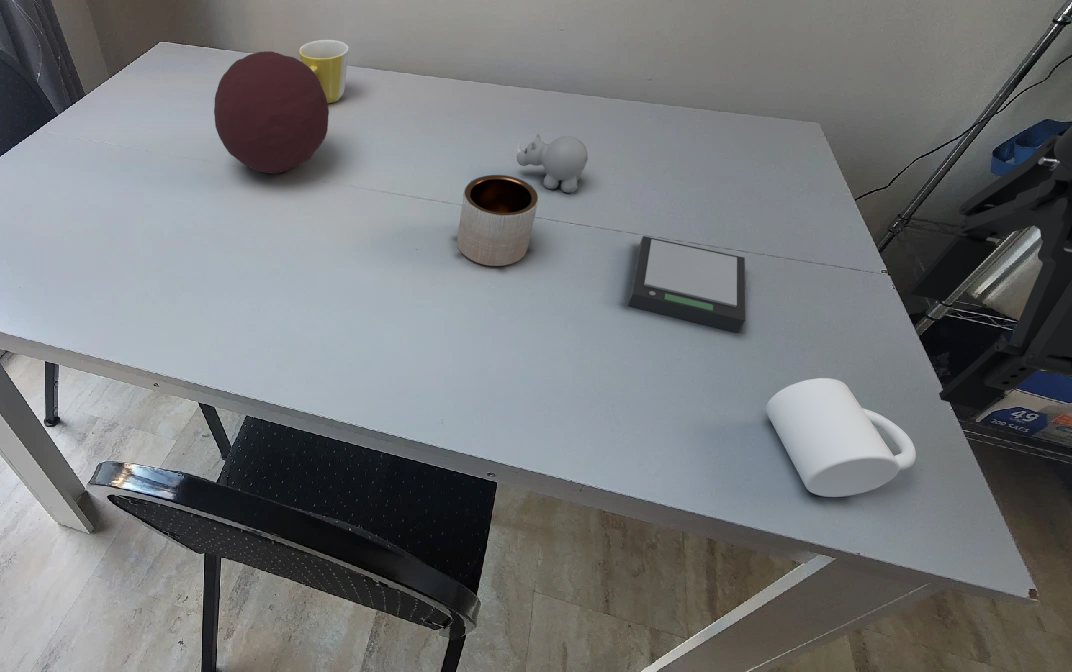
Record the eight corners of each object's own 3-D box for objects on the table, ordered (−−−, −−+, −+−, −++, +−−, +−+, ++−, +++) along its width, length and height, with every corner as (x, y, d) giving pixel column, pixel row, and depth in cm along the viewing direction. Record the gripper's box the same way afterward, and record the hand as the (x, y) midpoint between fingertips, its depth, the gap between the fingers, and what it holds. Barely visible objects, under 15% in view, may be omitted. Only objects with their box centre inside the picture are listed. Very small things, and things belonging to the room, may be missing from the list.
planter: (444, 253, 93) (450, 200, 86) (475, 218, 99) (483, 166, 92) (509, 278, 88) (521, 225, 81) (537, 239, 95) (550, 187, 88)
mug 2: (791, 496, 63) (833, 456, 58) (752, 419, 70) (786, 376, 64) (909, 500, 63) (964, 459, 57) (858, 421, 70) (902, 378, 64)
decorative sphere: (235, 139, 119) (215, 34, 105) (334, 138, 118) (328, 32, 104) (216, 195, 106) (191, 83, 91) (328, 195, 105) (320, 81, 90)
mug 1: (322, 83, 136) (319, 35, 128) (359, 94, 132) (358, 45, 124) (283, 107, 128) (278, 57, 121) (321, 119, 124) (318, 68, 116)
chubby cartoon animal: (518, 163, 110) (527, 119, 104) (584, 178, 106) (597, 133, 100) (506, 182, 106) (514, 137, 100) (574, 199, 102) (587, 153, 96)
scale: (737, 333, 80) (747, 318, 78) (627, 305, 84) (633, 291, 82) (737, 270, 88) (746, 255, 86) (637, 248, 92) (643, 233, 90)
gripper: (1039, 34, 46) (872, 251, 61) (1193, 211, 30) (917, 441, 46) (1168, 46, 44) (960, 268, 59) (1403, 245, 28) (1039, 474, 44)
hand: (941, 344), depth 53 cm, fingers open, 13 cm apart
